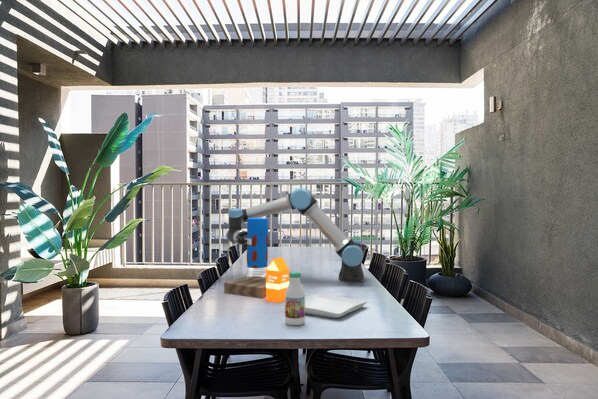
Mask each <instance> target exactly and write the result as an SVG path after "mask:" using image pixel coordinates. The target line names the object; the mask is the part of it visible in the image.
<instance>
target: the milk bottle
mask: <svg viewBox="0 0 598 399" xmlns="http://www.w3.org/2000/svg"><path fill="white" fill-rule="evenodd" d="M301 279H302V272H299V271H292V272H290V271H289V285H288V287H287V290H286V297H285V301H284V303H285V304H284V306H285V308H284V310H285V312H284V314H285V315H284V316H285V317H284V320H285V324H286V325H288V326H301V325H303V324H305V323H306V314H305V297H306V296H305V289H304V287H303V284H302V280H301Z"/></svg>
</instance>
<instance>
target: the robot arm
mask: <svg viewBox="0 0 598 399" xmlns="http://www.w3.org/2000/svg"><path fill="white" fill-rule="evenodd" d="M288 210H291V211H293V210H297V211H298V213H299V214H301V215H302V216H305V217H307V218H308V220H310V221H311V222H312V224H313V225H314V226H315V227H316V228H317V229H318V230H319V232H321V233H322V234H323V235H322V236H324V237H325V238H326V239H327V240H328V241H329V243H330V244H332V246H333V247H335V250H334V251H335V253H336V254H337V255H338V256H339V257H340V259H341V268H340V269H339V273H338V281H341V282H349V283H357V282H358V283H359V282H364V281H365V274H364V270H363V266H362V261H363V259H364V251H363V250H362V246H363V244H362V240H354V239H353V238H351V237H347V236H346V235H345V234H344V233H343V231H341V229H340V228H339V227H338V225H336V224H335V223H334V222H333V220H332V219H330V218H329V216H328V215H327V214H326V213H325V212H324V211H323V209H321V208H320V206H319V202H318V200H317V199H316V198H315V196H313V195H312V193H311V191H310V190H309V189H307V188H304V187H298V188H295V189H294V190H293V191H292V192H290V193H288V194H286V196H284V197H281V198H278V199H274V200H270V201H267V202H264V203H261V204H258V205H254V206H252V207H247V208H245V209H242V208H229V210H228V213H227V214H228V230H227V231H226V234H225V237H226V240H228V241H229V242H230V243H233V244H237V245H238V244H239V246H242V245H243V246H247V244H249V245H252V239H247V230H243V224H245V223H247V219H248V218H265V217H267V216H270V215H274V214H277V213H281V212H284V211H288ZM268 244H273V243H272V238H271V237H270V236H268Z"/></svg>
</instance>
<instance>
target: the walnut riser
mask: <svg viewBox="0 0 598 399" xmlns="http://www.w3.org/2000/svg"><path fill="white" fill-rule="evenodd" d="M223 285H224V286H223V287H224V289H223V290H224V291H223V292H224V293H225V294H232V295H238V296H243V297H244V296H245V297H251V298H257V299H264V298H265V299H266V277H260V276H250V277H243V278H238V279H235V280H231V281H227V282H224V284H223Z"/></svg>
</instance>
